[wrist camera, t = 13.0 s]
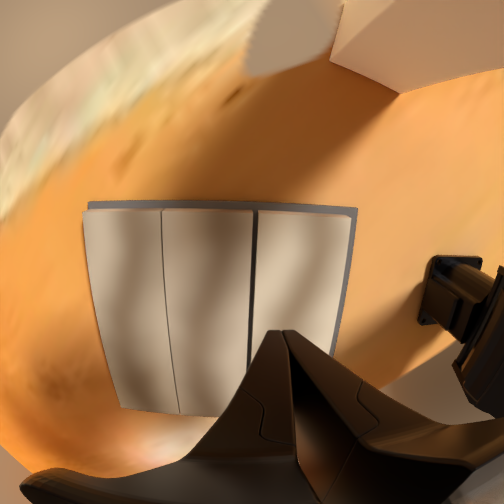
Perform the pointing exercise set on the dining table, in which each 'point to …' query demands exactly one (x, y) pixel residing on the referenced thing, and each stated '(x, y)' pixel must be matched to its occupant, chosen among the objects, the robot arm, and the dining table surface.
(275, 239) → the loose plank
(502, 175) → the dining table surface
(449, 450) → the robot arm
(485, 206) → the dining table surface
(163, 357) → the laid planks
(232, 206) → the underlay mat
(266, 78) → the dining table surface
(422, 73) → the milk
